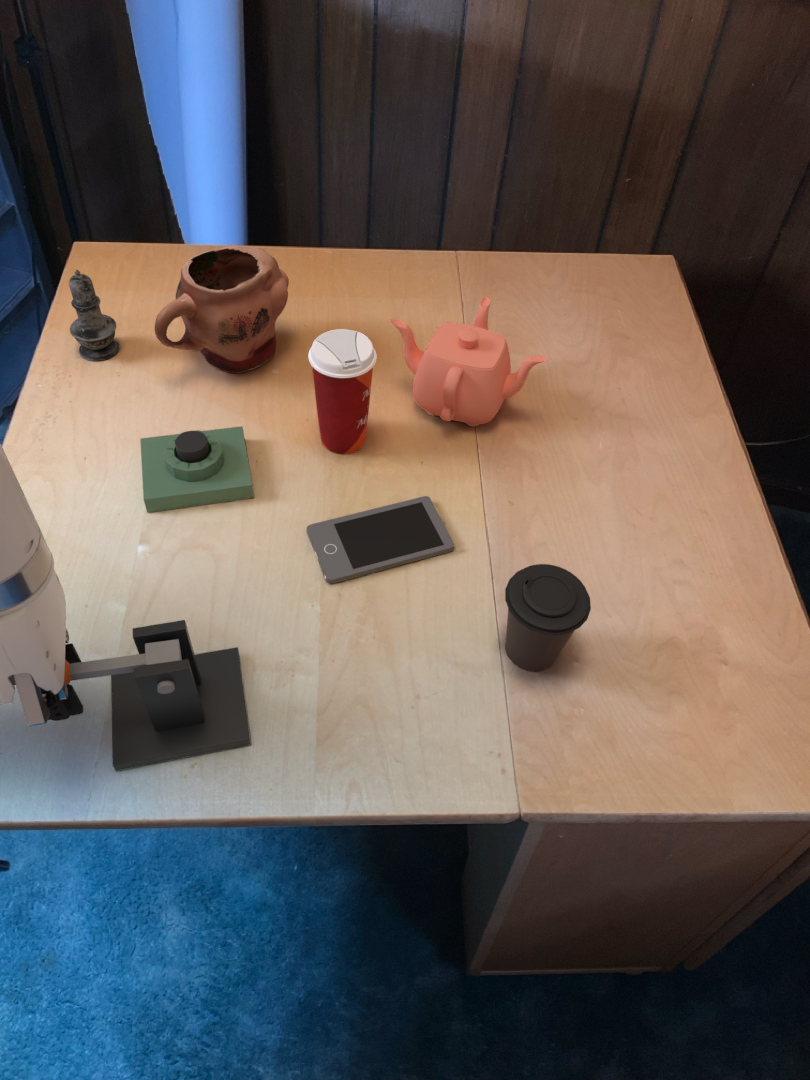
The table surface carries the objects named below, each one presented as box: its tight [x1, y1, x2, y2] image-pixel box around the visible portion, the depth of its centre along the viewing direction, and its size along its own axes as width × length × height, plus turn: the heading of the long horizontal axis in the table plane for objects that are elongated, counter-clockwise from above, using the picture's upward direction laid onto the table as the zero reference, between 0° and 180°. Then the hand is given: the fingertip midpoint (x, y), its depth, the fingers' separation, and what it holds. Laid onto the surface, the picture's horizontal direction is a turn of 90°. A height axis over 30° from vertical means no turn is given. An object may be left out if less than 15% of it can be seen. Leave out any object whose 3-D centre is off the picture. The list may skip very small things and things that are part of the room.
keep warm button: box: [175, 430, 209, 463], centre depth 92 cm, size 4×4×2 cm
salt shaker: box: [68, 269, 121, 362], centre depth 104 cm, size 6×6×12 cm
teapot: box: [389, 296, 549, 427], centre depth 102 cm, size 14×14×11 cm
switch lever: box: [64, 639, 182, 685], centre depth 68 cm, size 12×3×3 cm, turn 104°
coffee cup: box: [504, 563, 592, 673], centre depth 78 cm, size 8×8×10 cm
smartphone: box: [306, 495, 455, 584], centre depth 90 cm, size 15×8×1 cm, turn 111°
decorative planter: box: [154, 245, 290, 374], centre depth 104 cm, size 20×12×14 cm, turn 141°
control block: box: [139, 426, 255, 513], centre depth 94 cm, size 12×10×4 cm
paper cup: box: [307, 328, 378, 455], centre depth 95 cm, size 8×8×14 cm
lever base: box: [110, 619, 252, 772], centre depth 72 cm, size 12×10×11 cm
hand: (64, 692), depth 69 cm, fingers closed on switch lever, 3 cm apart
